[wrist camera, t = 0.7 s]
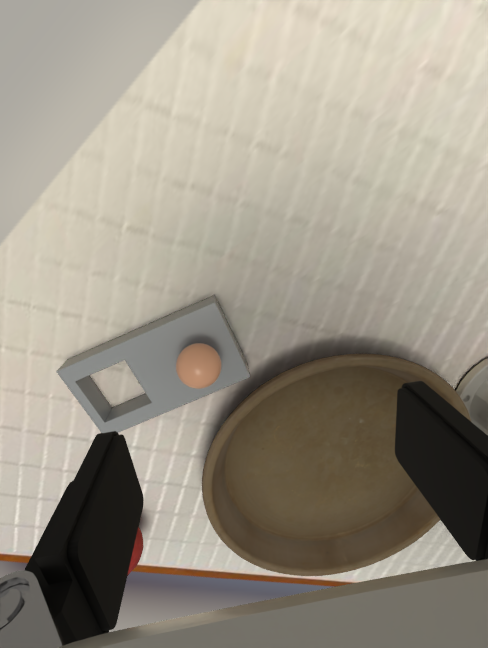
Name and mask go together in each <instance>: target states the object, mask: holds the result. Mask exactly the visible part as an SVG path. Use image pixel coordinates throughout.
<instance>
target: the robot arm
mask: <svg viewBox="0 0 488 648" xmlns="http://www.w3.org/2000/svg"><path fill="white" fill-rule="evenodd" d="M456 392H457V394H458V395H459V396H460V398H461V399H462V401H463V402H464V404H465V406H466V408H467V410H468V412H469V415H470V418H471V421H470V420H468V419H467V418H466V417H465V416H464V415H462V414H461V413H460V412H459V411H458V410H457V409H455V408H454V407H453V406H452V405H451V404H449V403H448V402H447V401H446V400H445V399H443V398H442V397H441V396H440V395H439V394H437V393H436V392H435V391H434V390H433V389H431V388H430V387H429V386H428V385H427V384H425V383H424V382H423V381H415V382H409V383H404V384H403V385H402V388H400V389H398V392H397V411H396V432H395V455H396V458H397V460H398V462H399V463H400V465H401V466H402V467H403V469H404V470H405V471H406V473H407V474H408V476H409V477H410V478H411V480H412V481H413V482H414V484H415V485H416V487H417V488H418V489H419V491H420V492H421V493H422V495H423V496H424V497H425V499H426V500H427V502H428V503H429V504H430V506H431V507H432V508H433V510H434V511H435V513H436V514H437V515H438V517H439V518H440V519H441V521H442V522H443V524H444V525H445V526H446V528H447V529H448V530H449V532H450V533H451V535H452V536H453V537H454V539H455V540H456V541H457V543H458V544H459V546H460V547H461V548H462V550H463V551H464V552H465V554H466V555H467V556H468V557H469V558H470V559H472V560H476V561H473V562H467V563H461V564H455V565H450V566H445V567H439V568H434V569H428V570H423V571H418V572H412V573H407V574H401V575H396V576H391V577H385V578H380V579H374V580H369V581H364V582H359V583H353V584H348V585H343V586H338V587H332V588H327V589H322V590H317V591H312V592H307V593H301V594H296V595H291V596H286V597H281V598H275V599H270V600H265V601H260V602H255V603H249V604H245V605H239V606H234V607H229V608H224V609H219V610H215V611H210V612H204V613H199V614H194V615H189V616H184V617H179V618H174V619H169V620H164V621H159V622H155V623H150V624H146V625H141V626H137V627H132V628H127V629H123V630H118V631H114V632H109V630H111V629H113V628H114V627H115V625H116V623H117V619H118V614H119V610H120V606H121V601H122V597H123V592H124V588H125V583H126V578H127V575H128V570H129V566H130V562H131V557H132V553H133V548H134V544H135V539H136V535H137V531H138V526H139V522H140V517H141V513H142V509H143V494H142V491H141V487H140V484H139V481H138V478H137V475H136V472H135V469H134V466H133V462H132V459H131V456H130V453H129V450H128V447H127V444H126V441H125V438H124V436H123V435H119V434H118V433H117V431H112V432H106V433H100V434H97V435H96V437H95V439H94V441H93V443H92V445H91V447H90V449H89V451H88V453H87V455H86V457H85V459H84V461H83V463H82V465H81V467H80V469H79V471H78V473H77V475H76V477H75V479H74V481H72V482H71V483H70V484H69V485H68V487H67V488H66V490H65V492H64V494H63V496H62V498H61V500H60V502H59V504H58V506H57V508H56V510H55V512H54V514H53V515H52V517H51V519H50V521H49V523H48V525H47V527H46V529H45V531H44V533H43V535H42V537H41V539H40V541H39V543H38V545H37V547H36V549H35V551H34V553H33V555H32V557H31V558H30V560H29V562H28V564H27V566H26V568H25V570H24V571H16V572H13V573H11V574H8V575H5V576H4V577H2V578H0V648H488V358H487V359H485V360H483V361H482V362H481V363H479V364H478V365H476V366H475V367H474V368H473V369H472V370H471V371H470V372H469V373H468V374H467V375H466V376H465V377H464V379H463V380H462V381H461V383H460V385H459V386H458V388H457V390H456ZM108 632H109V633H108Z"/></svg>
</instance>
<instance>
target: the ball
mask: <svg viewBox="0 0 488 648" xmlns="http://www.w3.org/2000/svg"><path fill="white" fill-rule="evenodd" d="M176 371H177V375H178V377H179V378H180V380H181V381H182V382H183V383H184V384H185V385H187V386H189V387H191V388H196V389H201V388H205V387H208V386H210V385H211V384H213V383H214V382H215V381H216V380H217V378H218V377H219V375H220V372H221V359H220V356H219V355H218V353H217V352H216V350H215V349H214V348H212V347H211V346H209V345H207V344H202V343H196V344H192V345H189V346H187V347H186V348H184V349H183V350H182V351H181V353H180V354H179V356H178V358H177V361H176Z"/></svg>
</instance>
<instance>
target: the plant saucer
mask: <svg viewBox="0 0 488 648" xmlns="http://www.w3.org/2000/svg"><path fill="white" fill-rule="evenodd" d="M415 381H423V382H424V383H425V384H427V385H428V386H429V387H430V388H431V389H433V390H434V391H435V392H436V393H437V394H439V395H440V396H441V397H442V398H443V399H445V400H446V401H447V402H448V403H449V404H451V405H452V406H453V407H454V408H455V409H457V410H458V411H459V412H460V413H461V414H462V415H464V416H465V417H466V418H467V419H468V420H470V421H471V418H470V415H469V412H468V410H467V408H466V406H465V404H464V402H463V401H462V399H461V398H460V396H459V395H458V394H457V392H456V391H455V390H454V389H453V388H452V387H451V386H450V385H449V384H448V383H447V382H446V381H445V380H444V379H442V378H441V377H440V376H438V375H437V374H435V373H434V372H432V371H430V370H429V369H427V368H425V367H423V366H420V365H418V364H416V363H413V362H410V361H407V360H404V359H400V358H396V357H391V356H386V355H379V354H347V355H338V356H331V357H326V358H321V359H317V360H314V361H310V362H307V363H304V364H301V365H299V366H296V367H294V368H292V369H289V370H287V371H285V372H283V373H281V374H279V375H277V376H276V377H274V378H272V379H271V380H269V381H267V382H266V383H264V384H263V385H261V386H260V387H259V388H257V389H256V390H255V391H253V392H252V393H251V394H250V395H249V396H248V397H247V398H245V399H244V400H243V401H242V402H241V403H240V404H239V405H238V406H237V407H236V409H235V410H234V411H233V412H232V413H231V414H230V415H229V417H228V418H227V419H226V421H225V422H224V423H223V425H222V426H221V428H220V429H219V431H218V433H217V434H216V436H215V438H214V440H213V442H212V444H211V447H210V449H209V452H208V454H207V457H206V461H205V465H204V470H203V477H202V493H203V500H204V505H205V509H206V512H207V515H208V518H209V520H210V522H211V524H212V526H213V528H214V530H215V531H216V533H217V534H218V536H219V537H220V539H221V540H222V541H223V542H224V543H225V544H226V545H227V546H228V547H229V548H230V549H231V550H232V551H233V552H235V553H236V554H237V555H238V556H240V557H241V558H243V559H245V560H246V561H248V562H250V563H252V564H254V565H256V566H259V567H261V568H264V569H267V570H270V571H274V572H278V573H283V574H290V575H299V576H322V575H331V574H337V573H343V572H348V571H352V570H356V569H359V568H362V567H365V566H368V565H371V564H374V563H376V562H378V561H381V560H383V559H385V558H388V557H390V556H391V555H393V554H395V553H397V552H399V551H401V550H403V549H404V548H406V547H408V546H409V545H411V544H412V543H414V542H415V541H416V540H418V539H419V538H421V537H422V536H423V535H424V534H425V533H427V532H428V531H429V530H430V529H431V528H432V527H433V526H434V525H435V524H436V523H437V522H438V521H439V520H440V518H439V517H438V515H437V514H436V513H435V511H434V510H433V508H432V507H431V506H430V504H429V503H428V502H427V500H426V499H425V497H424V496H423V495H422V493H421V492H420V491H419V489H418V488H417V487H416V485H415V484H414V482H413V481H412V480H411V478H410V477H409V476H408V474H407V473H406V471H405V470H404V469H403V467H402V466H401V465H400V463H399V462H398V460H397V458H396V455H395V432H396V411H397V392H398V389H400V388H402V385H403V384H404V383H409V382H415Z"/></svg>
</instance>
